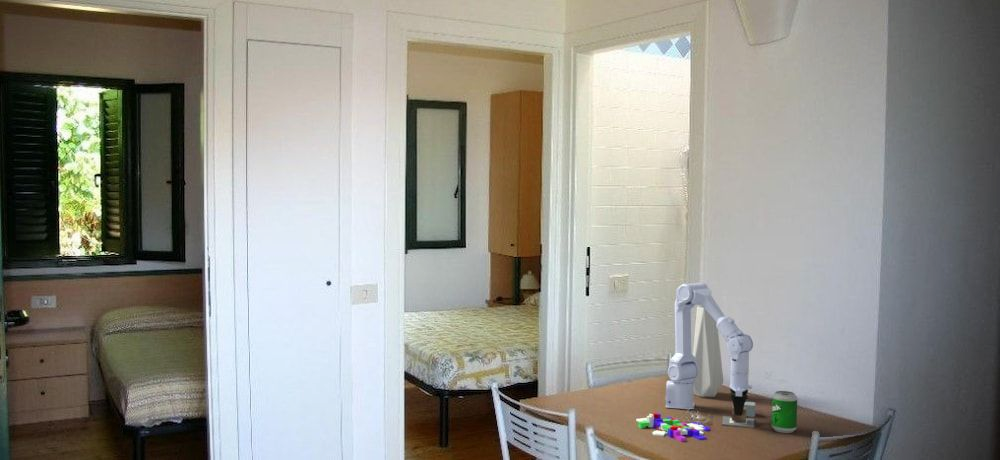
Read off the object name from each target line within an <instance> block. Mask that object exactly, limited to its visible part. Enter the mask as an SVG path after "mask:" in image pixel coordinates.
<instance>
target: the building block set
mask: <svg viewBox="0 0 1000 460" xmlns="http://www.w3.org/2000/svg"><path fill="white" fill-rule="evenodd" d="M635 420H636V422H637V423H638V425H637V427H638V428H639V429H646V427H647V426H648V427H647V428H649V427H650V428H655V429H657V430H654V431H652V435H653V436H658V437H665V435H667V437H669V438H670V439H671V438H673V439H675V440H677V441H678V442H681V443H682V442H687V437H686V436H692V437H693V438H694V439H697V440H698V441H701V440H707V439H708V437H706V436H704V432H710V431H711V427H709V426H708V425H705V424H703V423H701V422H699V423H698V422H696V421H693V422H690V423H686V422H680V420H679V419H678V418H675V417H672V416H669V417H667V416H666V418H662V414H661V413H659V412H657V413H648V415H646V417H642V418H636V419H635ZM684 435H685V436H684Z"/></svg>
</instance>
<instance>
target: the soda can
mask: <svg viewBox="0 0 1000 460" xmlns="http://www.w3.org/2000/svg"><path fill="white" fill-rule="evenodd" d="M771 397H772V399H771V401H772V402H771V428H772V429H773V430H774V431H775V432H778V433H780V434H781V433H782V434H791V433H792V434H793V433H794V431H796V430H797V426H798V425H797V423H798V422H797V421H798V396H797V395H796V393H795V392H793V391H788V390H787V391H786V390H776V391H775V392H774V393H773V394H772V396H771Z"/></svg>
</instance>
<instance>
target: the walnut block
mask: <svg viewBox="0 0 1000 460" xmlns="http://www.w3.org/2000/svg"><path fill="white" fill-rule="evenodd" d="M746 410H747V406H744V408H743V413H742V416H739V415H735V412H734V406H733V404H732V407H731V417H732V421H743V422H746V418H747V416H746Z"/></svg>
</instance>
